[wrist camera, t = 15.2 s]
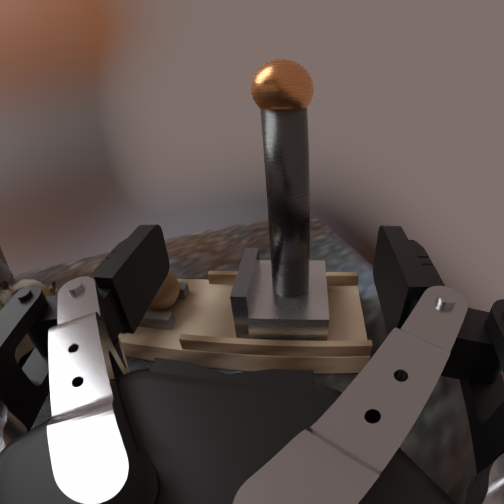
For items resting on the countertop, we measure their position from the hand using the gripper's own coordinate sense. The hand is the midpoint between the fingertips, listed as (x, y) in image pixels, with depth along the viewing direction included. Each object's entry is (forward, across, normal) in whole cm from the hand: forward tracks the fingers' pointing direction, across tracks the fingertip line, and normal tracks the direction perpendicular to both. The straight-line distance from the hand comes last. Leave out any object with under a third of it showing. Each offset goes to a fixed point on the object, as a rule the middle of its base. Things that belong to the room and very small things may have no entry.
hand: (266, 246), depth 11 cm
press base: (+11, +5, +15) cm, 20 cm away
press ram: (+11, 0, +13) cm, 17 cm away
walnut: (+11, +12, +13) cm, 21 cm away
